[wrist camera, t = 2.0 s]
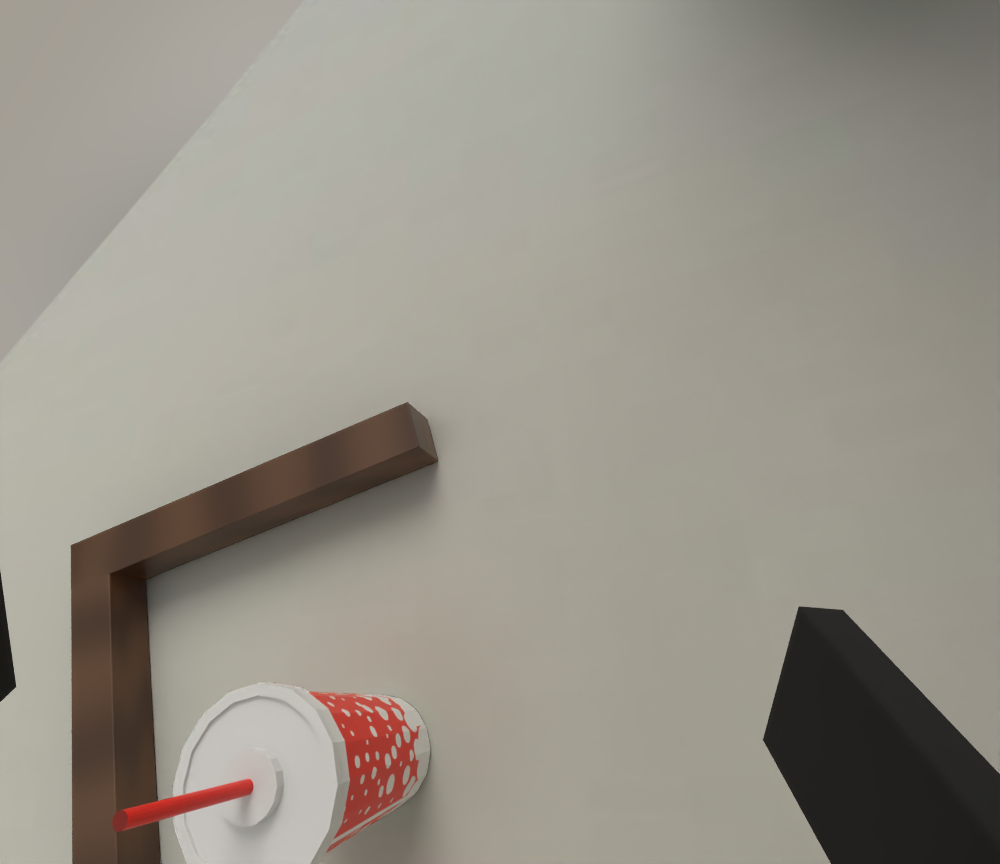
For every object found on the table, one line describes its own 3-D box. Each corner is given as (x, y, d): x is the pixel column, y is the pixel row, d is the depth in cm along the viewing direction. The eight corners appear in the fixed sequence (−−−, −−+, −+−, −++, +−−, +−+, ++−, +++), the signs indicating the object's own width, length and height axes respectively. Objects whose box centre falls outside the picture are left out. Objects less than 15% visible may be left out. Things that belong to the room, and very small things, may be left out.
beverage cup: (384, 648, 30) (145, 636, 17) (474, 749, 27) (271, 822, 15) (297, 753, 29) (-12, 819, 17) (381, 866, 27) (88, 1044, 14)
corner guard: (454, 430, 33) (435, 414, 30) (145, 1017, 28) (97, 1047, 25) (238, 337, 39) (211, 318, 37) (-41, 797, 34) (-92, 806, 32)
